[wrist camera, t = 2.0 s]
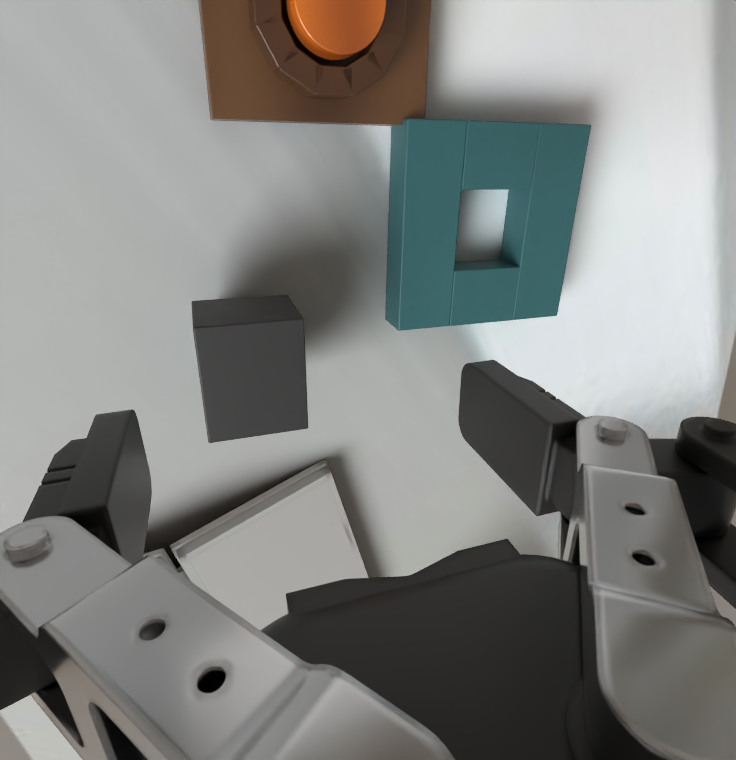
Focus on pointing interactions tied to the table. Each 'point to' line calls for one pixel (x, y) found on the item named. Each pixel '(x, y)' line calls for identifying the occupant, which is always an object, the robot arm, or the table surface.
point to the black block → (251, 366)
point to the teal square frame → (441, 214)
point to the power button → (336, 25)
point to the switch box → (312, 67)
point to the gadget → (272, 547)
